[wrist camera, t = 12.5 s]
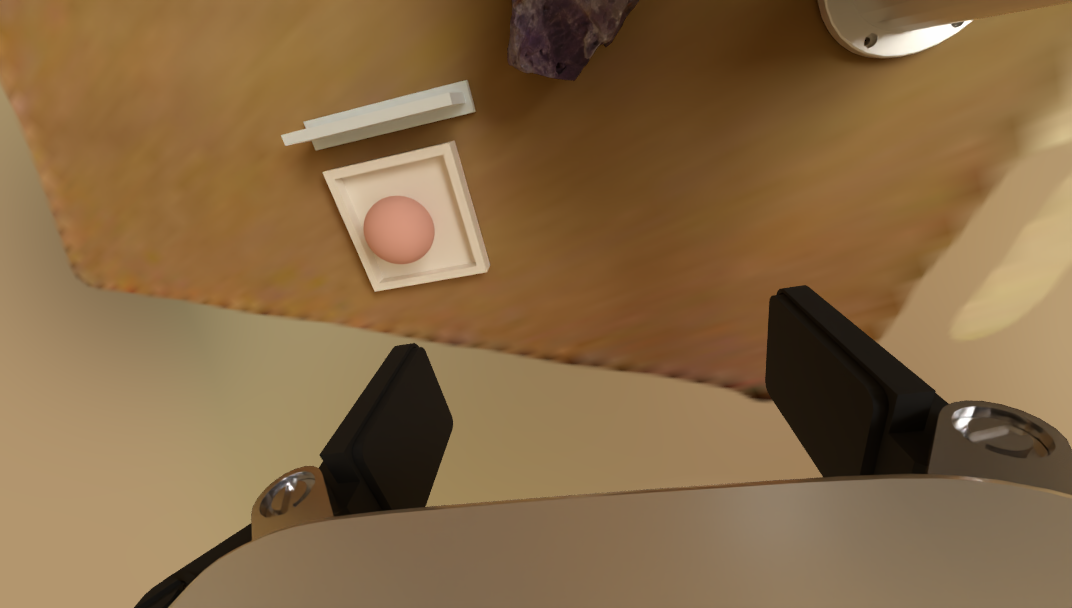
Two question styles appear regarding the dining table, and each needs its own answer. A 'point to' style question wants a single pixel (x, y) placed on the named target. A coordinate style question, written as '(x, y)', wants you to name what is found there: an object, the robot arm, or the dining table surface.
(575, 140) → the dining table surface
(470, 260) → the dish
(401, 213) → the ball
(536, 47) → the rock
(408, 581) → the robot arm
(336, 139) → the divider wall
